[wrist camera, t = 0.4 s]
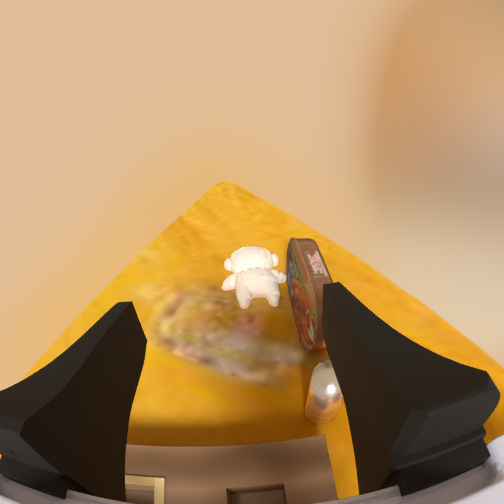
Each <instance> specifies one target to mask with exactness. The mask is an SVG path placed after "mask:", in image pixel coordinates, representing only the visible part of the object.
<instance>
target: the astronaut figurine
mask: <svg viewBox="0 0 504 504" xmlns="http://www.w3.org/2000/svg"><path fill="white" fill-rule="evenodd" d="M278 262H279V258H278V256H277V255H276V254H271V253H270V252H269V251H268V250H267V249H265V248H262V247H258V246H247V247H243V248H240V249H238V250H236V251H235V252H234V253H233V254H232V255H231V259H230V258H227V259H226V260H225V261H224V267H225V269H226V270H228V271H231V272H232V273H233V274H231V275H229V276H228V277H227V278H226V279H225V280H224V282H223V285H222V290H225V291H227V290H232V289H236V296H237V300H238V303H239V305H240V307H241V308H242V309H246V308H248V307H249V305H250V303H251V301H252V299H253V298H266V299H267V300H268V302H269V304H270V305H272V306H274V307H276V306H278V305H279V300H280V289H279V285H278V283H285V282H286V280H287V276H286V275H285V274H284V273H283V272H280V273H279V271H278V270H274V269H273V266H276V265H277V264H278Z"/></svg>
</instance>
